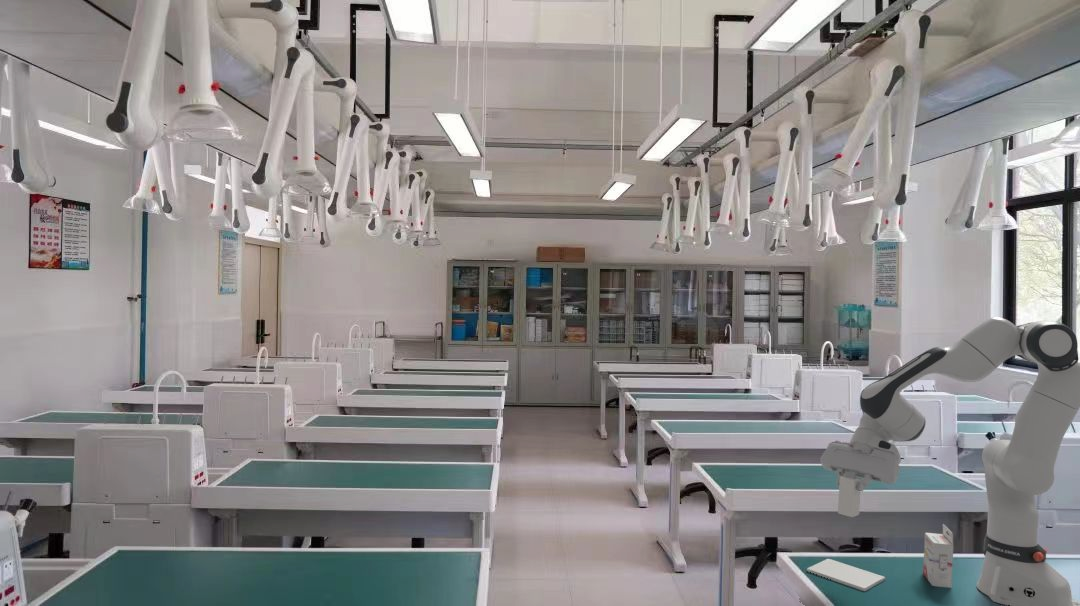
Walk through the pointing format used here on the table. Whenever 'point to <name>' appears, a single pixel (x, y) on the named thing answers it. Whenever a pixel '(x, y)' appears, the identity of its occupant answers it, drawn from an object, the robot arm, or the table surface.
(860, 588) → the white spiral notebook
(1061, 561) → the table surface
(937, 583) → the ink cartridge box
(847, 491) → the white tall rectangular block
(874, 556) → the table surface
